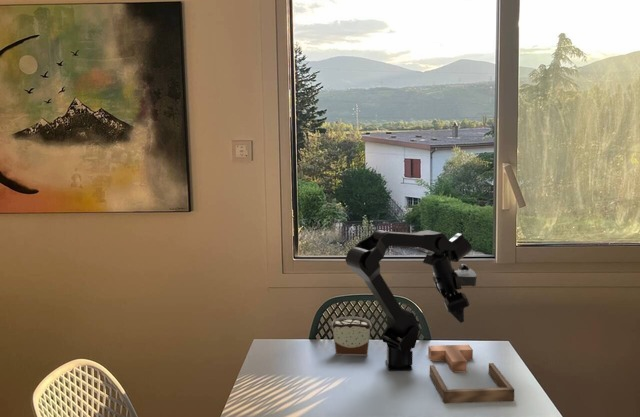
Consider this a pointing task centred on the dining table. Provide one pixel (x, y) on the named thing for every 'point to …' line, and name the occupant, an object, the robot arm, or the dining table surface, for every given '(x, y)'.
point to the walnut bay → (475, 395)
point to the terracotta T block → (452, 355)
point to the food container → (351, 335)
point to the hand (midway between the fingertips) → (457, 313)
